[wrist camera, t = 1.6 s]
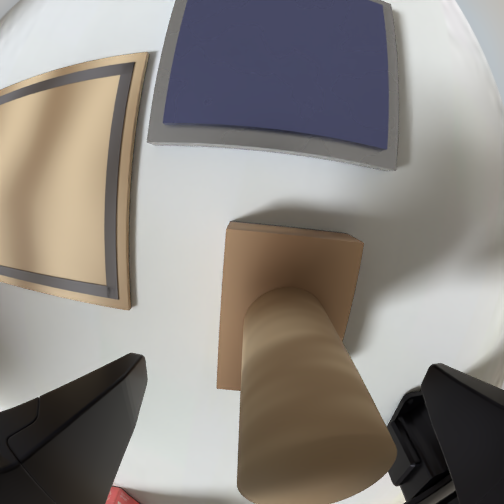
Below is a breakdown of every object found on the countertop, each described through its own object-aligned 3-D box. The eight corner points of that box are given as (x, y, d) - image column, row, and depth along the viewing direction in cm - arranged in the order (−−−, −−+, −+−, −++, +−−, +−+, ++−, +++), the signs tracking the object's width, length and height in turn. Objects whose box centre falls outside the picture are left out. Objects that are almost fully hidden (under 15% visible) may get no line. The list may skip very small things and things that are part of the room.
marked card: (149, 54, 10) (146, 51, 9) (131, 307, 13) (128, 311, 12) (-7, 95, 9) (-11, 94, 9) (-13, 275, 12) (-17, 277, 12)
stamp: (346, 233, 12) (497, 327, 3) (318, 367, 13) (366, 518, 5) (230, 221, 12) (177, 324, 3) (220, 361, 13) (197, 526, 5)
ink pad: (383, 12, 9) (394, 0, 8) (385, 171, 11) (400, 170, 10) (187, -14, 9) (181, -29, 7) (155, 145, 11) (143, 140, 9)
